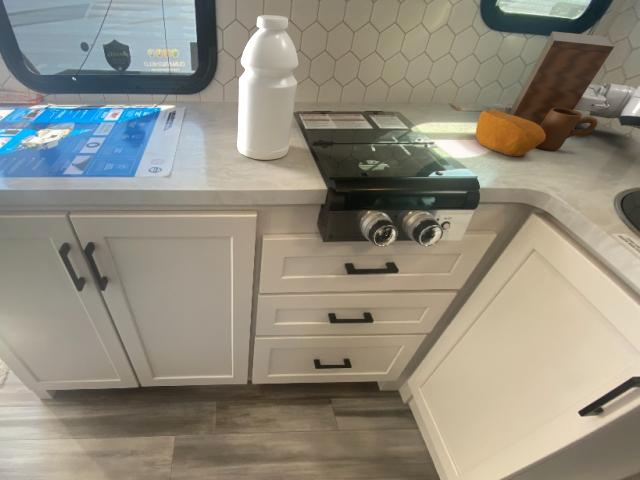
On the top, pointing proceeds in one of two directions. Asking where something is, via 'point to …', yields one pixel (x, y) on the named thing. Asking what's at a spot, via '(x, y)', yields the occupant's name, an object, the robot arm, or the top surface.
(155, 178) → the top surface
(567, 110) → the mug
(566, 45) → the wooden board
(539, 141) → the bread
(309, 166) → the top surface
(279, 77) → the bottle
